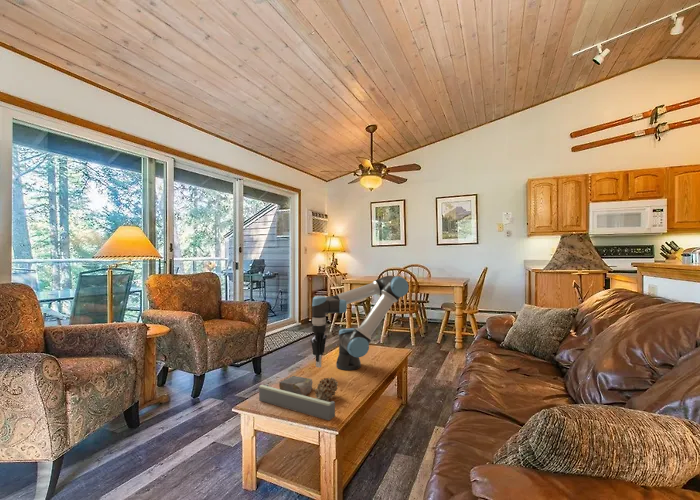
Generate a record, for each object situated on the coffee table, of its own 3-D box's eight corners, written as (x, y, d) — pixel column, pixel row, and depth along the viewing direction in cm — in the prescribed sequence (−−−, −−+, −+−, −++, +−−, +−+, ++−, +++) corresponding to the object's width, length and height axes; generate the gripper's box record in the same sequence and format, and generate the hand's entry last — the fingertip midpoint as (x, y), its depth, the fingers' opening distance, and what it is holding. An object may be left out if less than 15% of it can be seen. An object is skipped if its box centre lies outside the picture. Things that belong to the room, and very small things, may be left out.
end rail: (266, 396, 159) (266, 382, 159) (334, 415, 140) (334, 399, 140) (259, 400, 155) (258, 386, 155) (328, 420, 136) (328, 404, 136)
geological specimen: (291, 375, 175) (315, 378, 169) (291, 386, 175) (315, 390, 168) (278, 381, 166) (303, 384, 159) (278, 393, 165) (303, 397, 159)
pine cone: (324, 392, 164) (324, 372, 164) (341, 395, 160) (341, 375, 160) (300, 411, 144) (299, 388, 144) (318, 415, 140) (318, 392, 140)
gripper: (317, 327, 176) (317, 371, 176) (330, 323, 188) (330, 364, 187) (306, 325, 180) (306, 369, 179) (320, 321, 191) (319, 362, 191)
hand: (318, 366), depth 183 cm, fingers closed
